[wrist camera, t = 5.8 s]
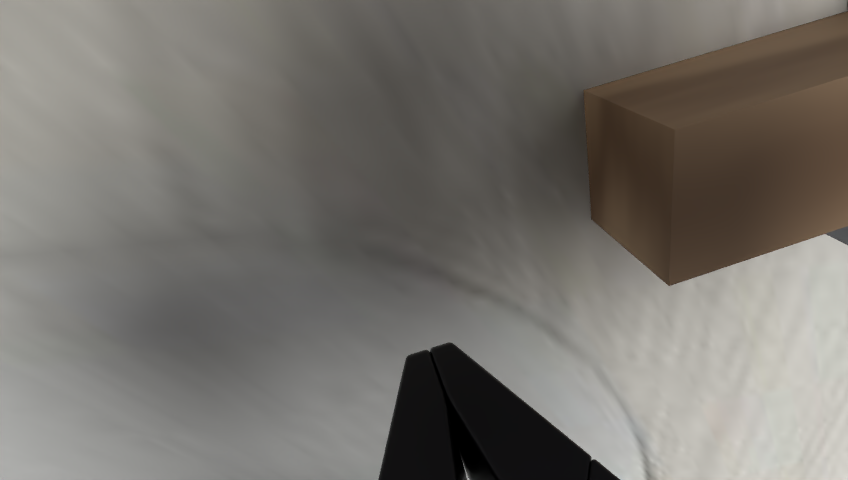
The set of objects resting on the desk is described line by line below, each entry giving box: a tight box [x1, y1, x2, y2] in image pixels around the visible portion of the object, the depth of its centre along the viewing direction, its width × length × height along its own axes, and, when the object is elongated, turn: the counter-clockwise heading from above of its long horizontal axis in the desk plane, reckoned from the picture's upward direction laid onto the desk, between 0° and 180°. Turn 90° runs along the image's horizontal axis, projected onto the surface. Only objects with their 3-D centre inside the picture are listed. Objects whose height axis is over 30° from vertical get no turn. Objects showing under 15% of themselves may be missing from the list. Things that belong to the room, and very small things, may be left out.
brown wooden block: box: [584, 11, 848, 286], centre depth 13 cm, size 4×12×4 cm, turn 103°
